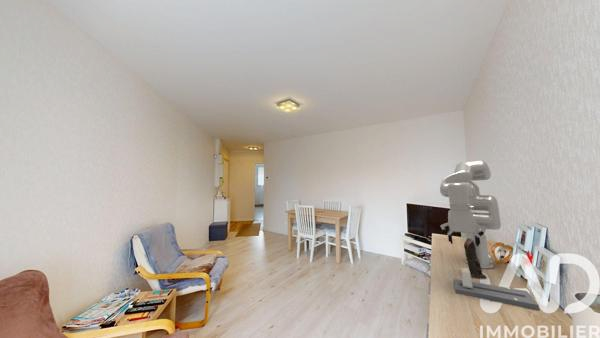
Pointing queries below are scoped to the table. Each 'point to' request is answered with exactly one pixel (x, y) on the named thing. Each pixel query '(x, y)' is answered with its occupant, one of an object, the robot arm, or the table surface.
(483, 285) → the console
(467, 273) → the fader
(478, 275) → the statue
